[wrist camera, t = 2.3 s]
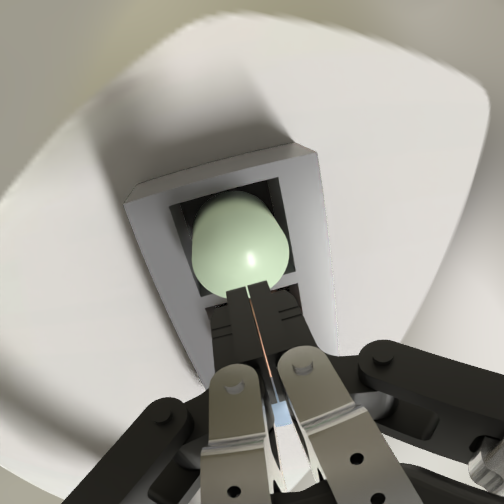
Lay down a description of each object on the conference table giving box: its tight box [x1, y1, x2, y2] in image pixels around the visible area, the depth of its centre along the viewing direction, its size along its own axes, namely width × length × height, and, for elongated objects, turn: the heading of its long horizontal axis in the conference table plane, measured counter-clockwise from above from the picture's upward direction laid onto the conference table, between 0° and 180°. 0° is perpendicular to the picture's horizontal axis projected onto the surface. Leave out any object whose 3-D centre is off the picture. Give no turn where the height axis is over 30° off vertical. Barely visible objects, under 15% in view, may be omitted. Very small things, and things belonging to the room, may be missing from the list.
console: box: [123, 142, 339, 390], centre depth 22 cm, size 20×10×4 cm, turn 13°
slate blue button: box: [271, 377, 292, 427], centre depth 23 cm, size 5×5×4 cm
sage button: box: [192, 191, 289, 298], centre depth 17 cm, size 5×5×4 cm
